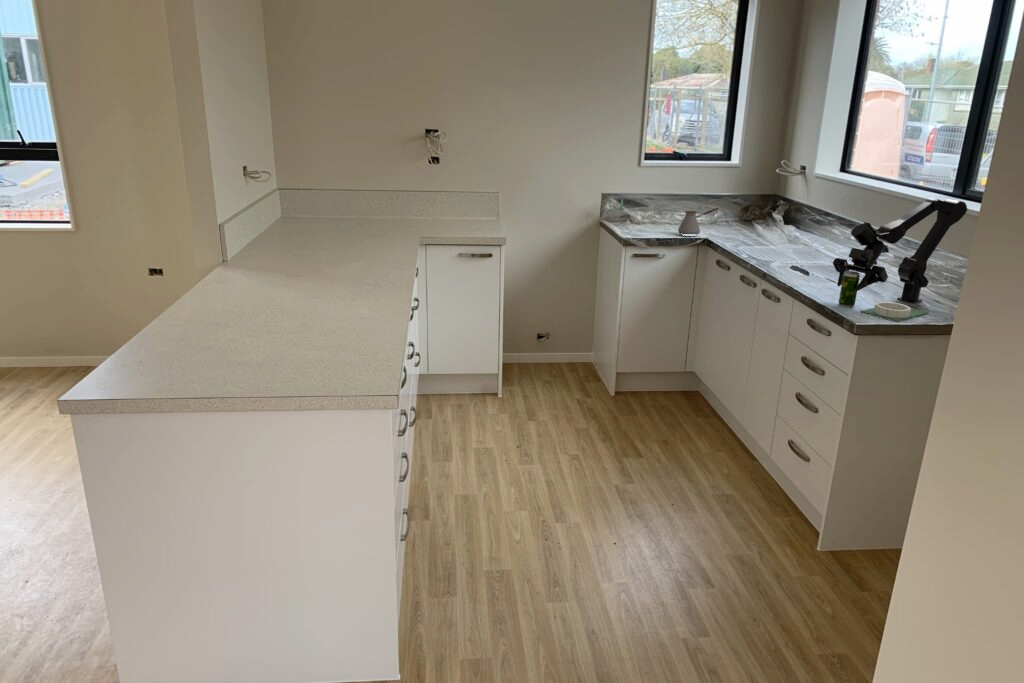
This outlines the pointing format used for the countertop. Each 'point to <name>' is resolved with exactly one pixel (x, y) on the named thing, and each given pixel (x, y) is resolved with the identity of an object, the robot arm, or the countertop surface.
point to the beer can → (849, 288)
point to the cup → (892, 309)
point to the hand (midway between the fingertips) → (847, 287)
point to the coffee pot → (691, 222)
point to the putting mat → (912, 314)
